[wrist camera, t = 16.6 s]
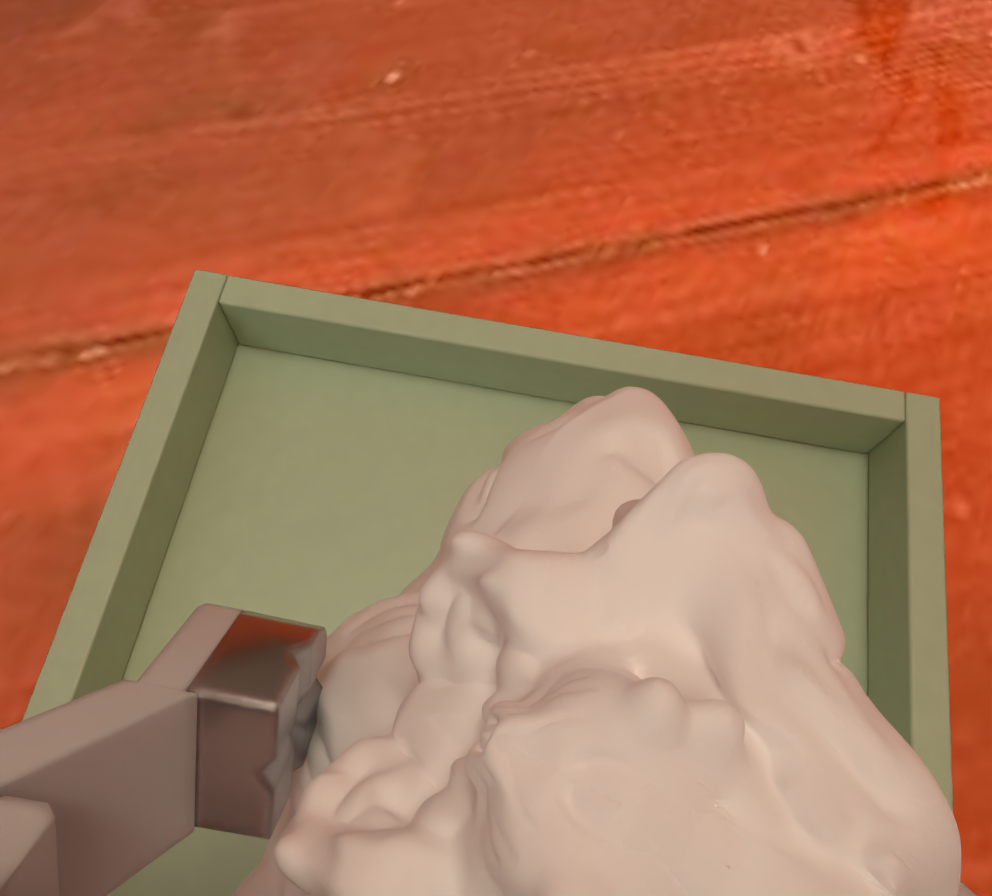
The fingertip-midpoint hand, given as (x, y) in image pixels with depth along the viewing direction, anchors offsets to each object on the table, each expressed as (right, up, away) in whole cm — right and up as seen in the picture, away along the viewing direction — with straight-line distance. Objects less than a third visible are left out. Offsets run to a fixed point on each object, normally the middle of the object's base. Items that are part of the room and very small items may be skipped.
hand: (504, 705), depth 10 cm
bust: (0, -3, +5) cm, 5 cm away
